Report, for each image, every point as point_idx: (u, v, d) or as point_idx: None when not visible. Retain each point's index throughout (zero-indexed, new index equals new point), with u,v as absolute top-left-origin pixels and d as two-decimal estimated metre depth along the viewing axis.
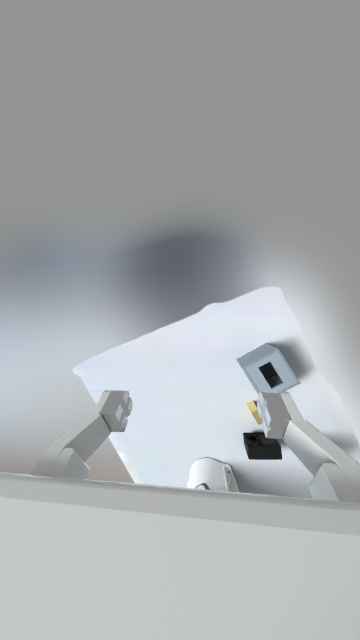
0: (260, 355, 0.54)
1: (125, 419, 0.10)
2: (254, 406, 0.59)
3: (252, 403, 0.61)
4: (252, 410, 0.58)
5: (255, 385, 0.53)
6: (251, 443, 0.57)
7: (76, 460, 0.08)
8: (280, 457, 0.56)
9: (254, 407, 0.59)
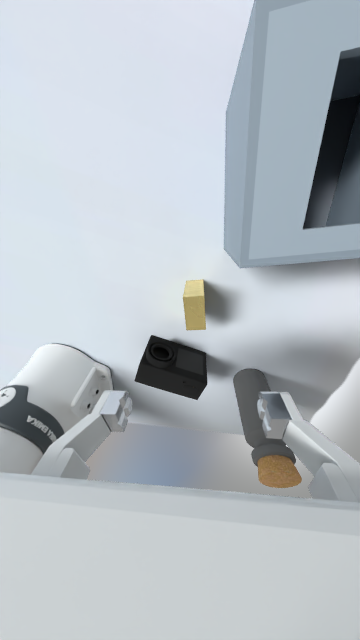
0: None
1: (125, 419, 0.10)
2: (199, 288, 0.21)
3: (198, 283, 0.23)
4: (189, 293, 0.20)
5: (253, 178, 0.11)
6: (151, 359, 0.24)
7: (76, 460, 0.08)
8: (195, 396, 0.27)
9: (198, 290, 0.21)
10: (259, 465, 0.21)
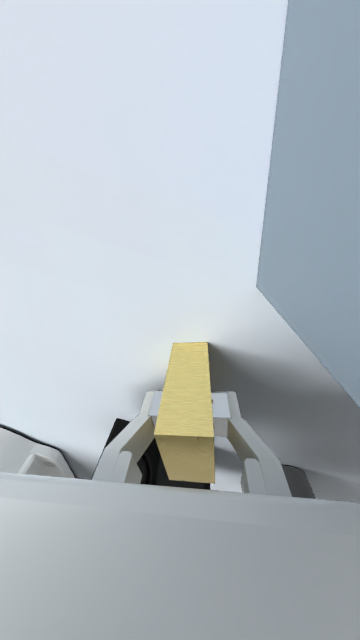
0: None
1: None
2: (200, 386, 0.09)
3: (198, 357, 0.11)
4: (172, 413, 0.08)
5: None
6: None
7: (133, 464, 0.08)
8: None
9: (197, 394, 0.08)
10: None
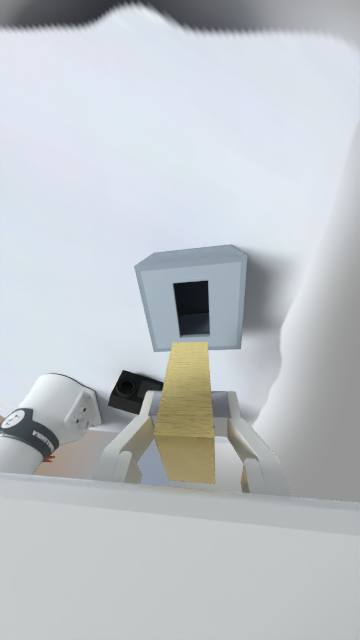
0: (195, 257, 0.20)
1: None
2: (200, 385, 0.09)
3: (198, 356, 0.11)
4: (172, 413, 0.08)
5: (149, 318, 0.22)
6: (118, 392, 0.36)
7: (133, 464, 0.08)
8: None
9: (197, 394, 0.08)
10: None
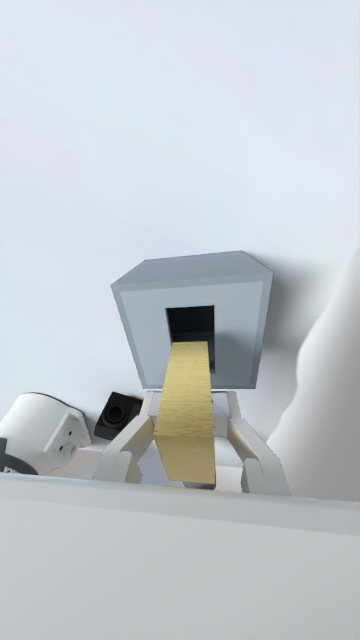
0: (197, 271, 0.14)
1: None
2: (200, 385, 0.09)
3: (198, 356, 0.11)
4: (172, 413, 0.08)
5: (135, 350, 0.17)
6: (105, 421, 0.30)
7: (133, 464, 0.08)
8: None
9: (197, 394, 0.08)
10: None
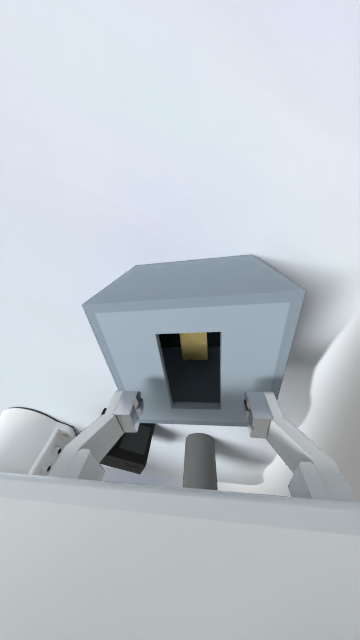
0: (198, 285, 0.11)
1: (137, 420, 0.10)
2: None
3: None
4: None
5: (120, 382, 0.13)
6: None
7: (92, 461, 0.08)
8: (138, 472, 0.30)
9: None
10: None
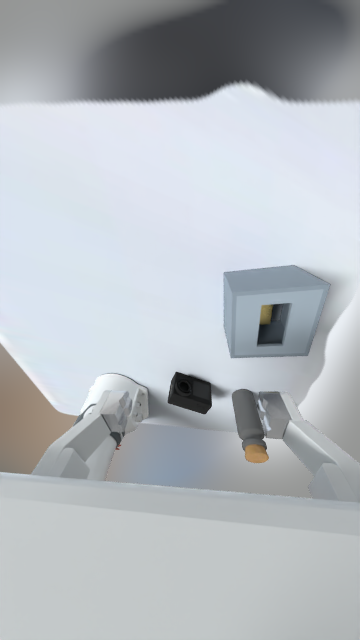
0: (280, 283, 0.24)
1: (125, 419, 0.10)
2: None
3: None
4: None
5: (234, 331, 0.27)
6: (179, 391, 0.41)
7: (76, 460, 0.08)
8: (204, 412, 0.44)
9: None
10: (245, 450, 0.38)
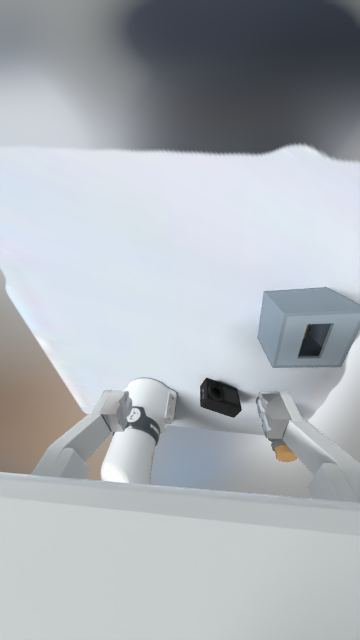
0: (323, 306, 0.29)
1: (125, 419, 0.10)
2: None
3: None
4: None
5: (280, 345, 0.31)
6: (213, 396, 0.45)
7: (76, 460, 0.08)
8: (233, 416, 0.48)
9: None
10: (276, 450, 0.42)
